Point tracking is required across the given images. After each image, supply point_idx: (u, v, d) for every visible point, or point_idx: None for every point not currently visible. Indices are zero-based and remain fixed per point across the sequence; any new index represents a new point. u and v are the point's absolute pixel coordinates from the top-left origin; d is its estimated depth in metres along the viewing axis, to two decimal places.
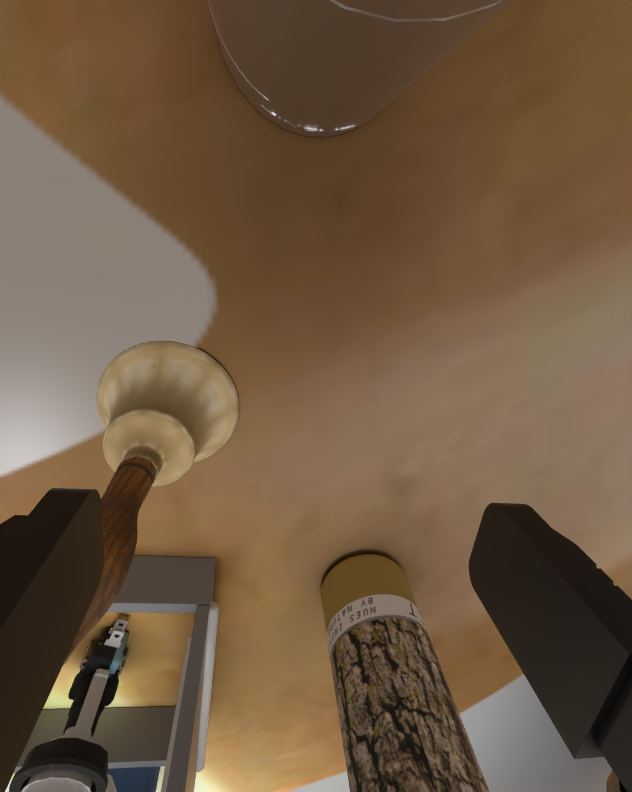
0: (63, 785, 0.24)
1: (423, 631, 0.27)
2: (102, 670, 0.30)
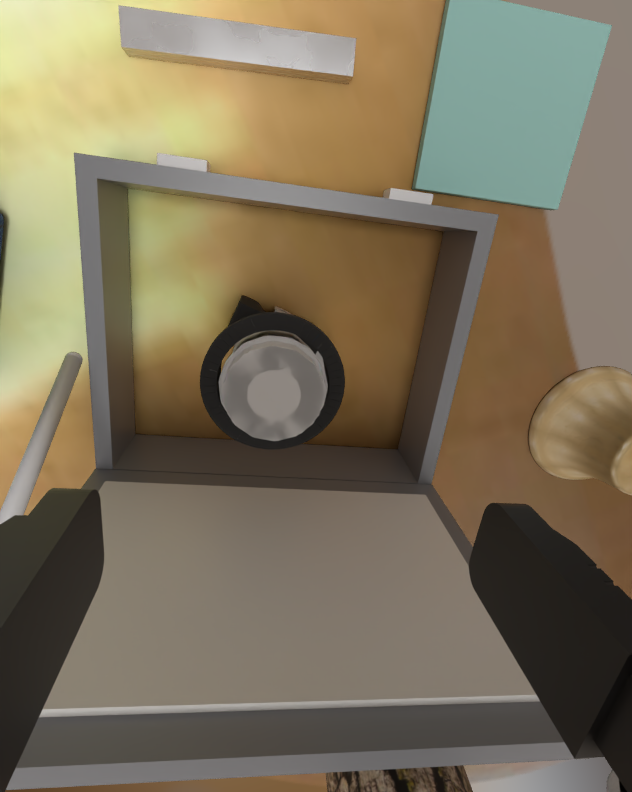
0: None
1: None
2: None
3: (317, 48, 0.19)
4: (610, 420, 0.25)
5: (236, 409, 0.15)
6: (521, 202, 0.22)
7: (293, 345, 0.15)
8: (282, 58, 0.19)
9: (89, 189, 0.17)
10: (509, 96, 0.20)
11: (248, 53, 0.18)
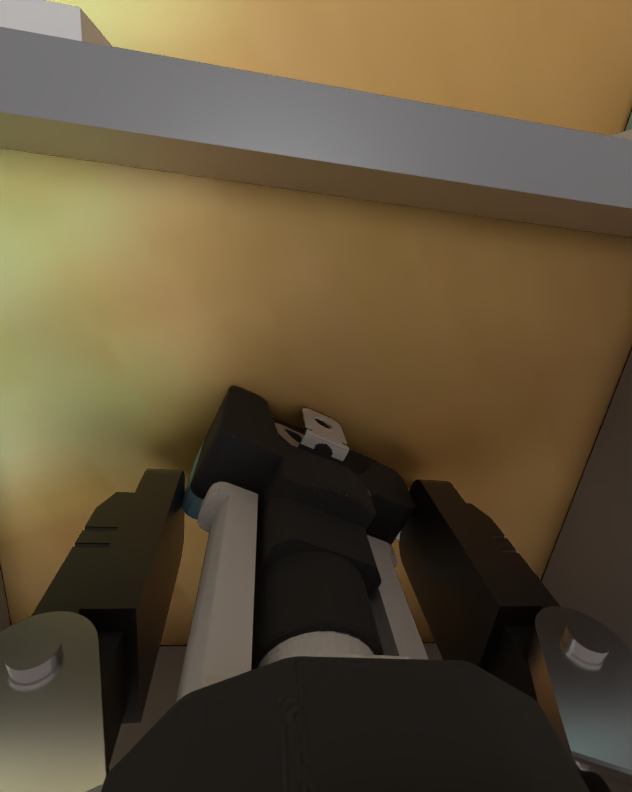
0: None
1: None
2: None
3: None
4: None
5: None
6: None
7: None
8: None
9: None
10: None
11: None
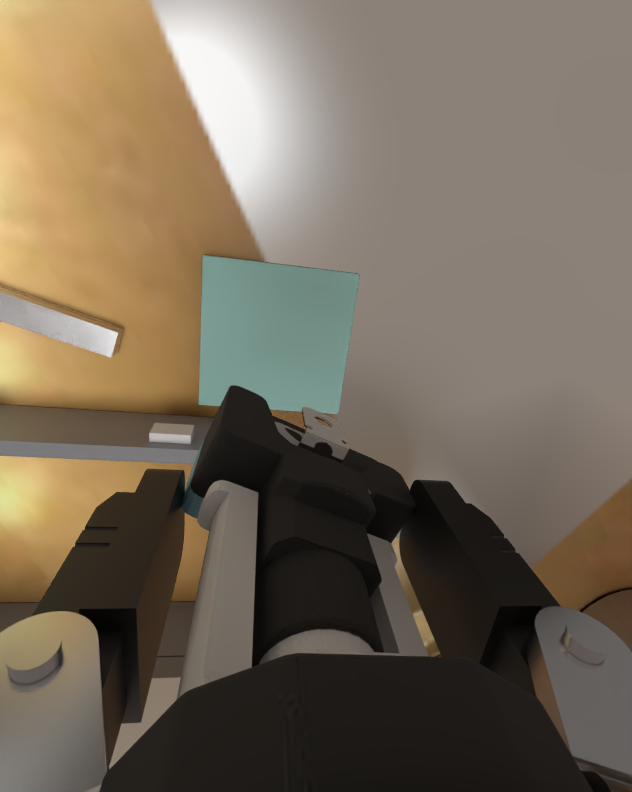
0: None
1: None
2: None
3: (80, 330, 0.21)
4: None
5: None
6: None
7: None
8: (45, 329, 0.21)
9: None
10: (274, 331, 0.23)
11: (12, 318, 0.20)
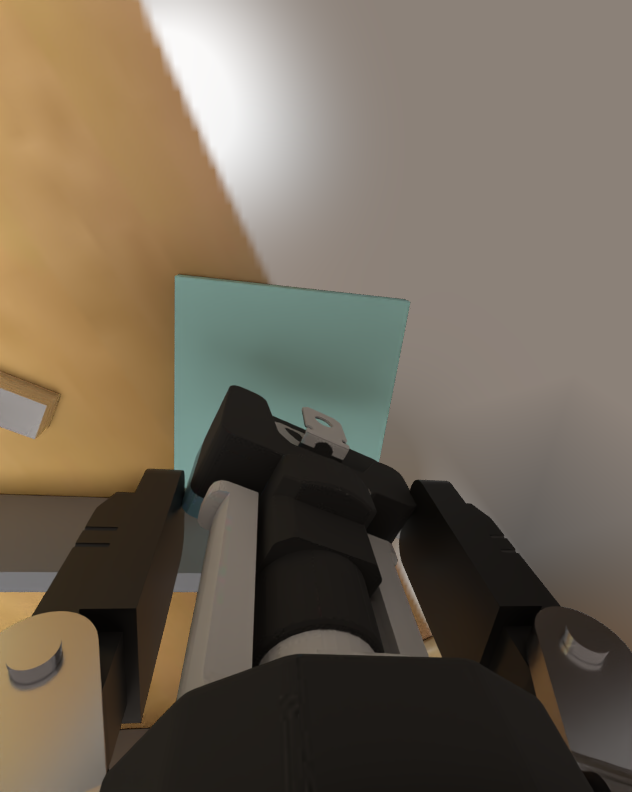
0: None
1: None
2: None
3: None
4: None
5: None
6: None
7: None
8: None
9: None
10: (283, 385, 0.15)
11: None
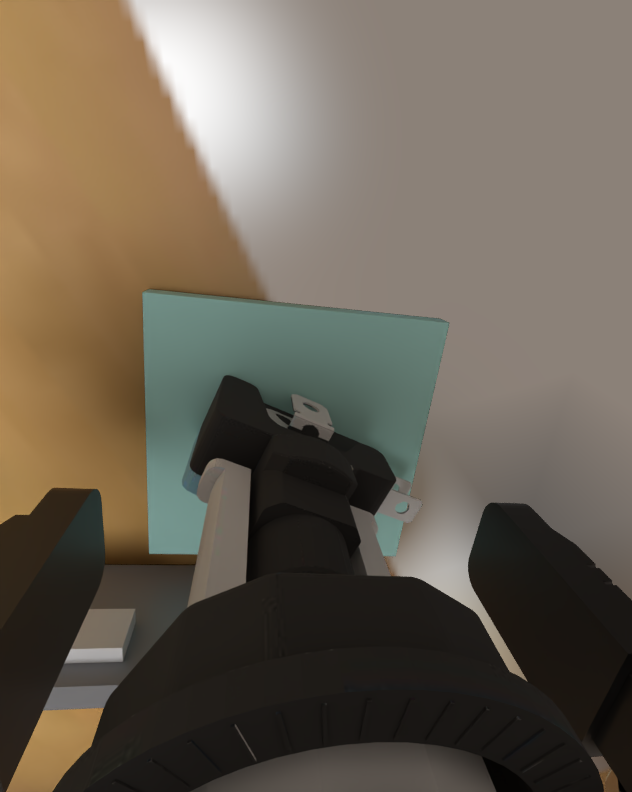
0: None
1: None
2: None
3: None
4: None
5: None
6: None
7: None
8: None
9: None
10: None
11: None
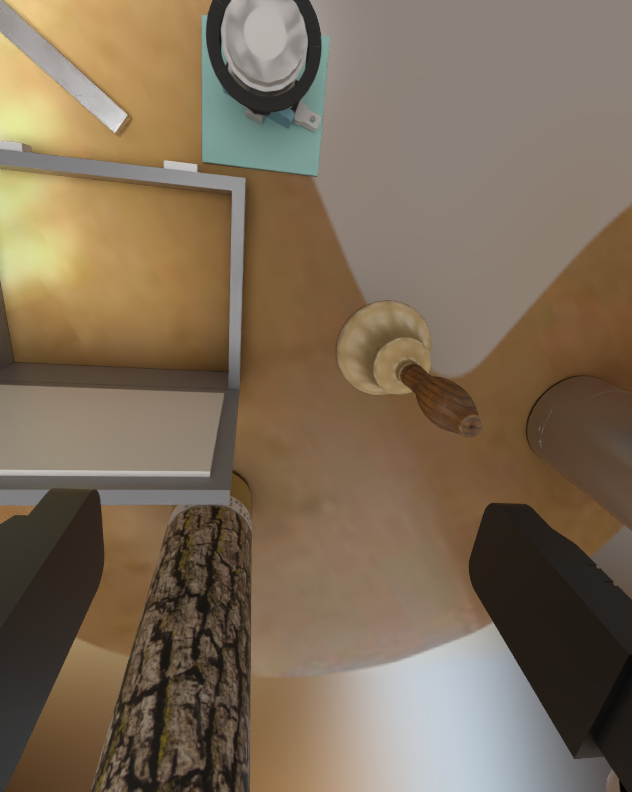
0: (300, 59, 0.20)
1: None
2: None
3: (98, 100, 0.26)
4: (377, 337, 0.32)
5: (236, 46, 0.19)
6: (288, 170, 0.30)
7: None
8: (71, 87, 0.26)
9: None
10: None
11: (48, 66, 0.25)
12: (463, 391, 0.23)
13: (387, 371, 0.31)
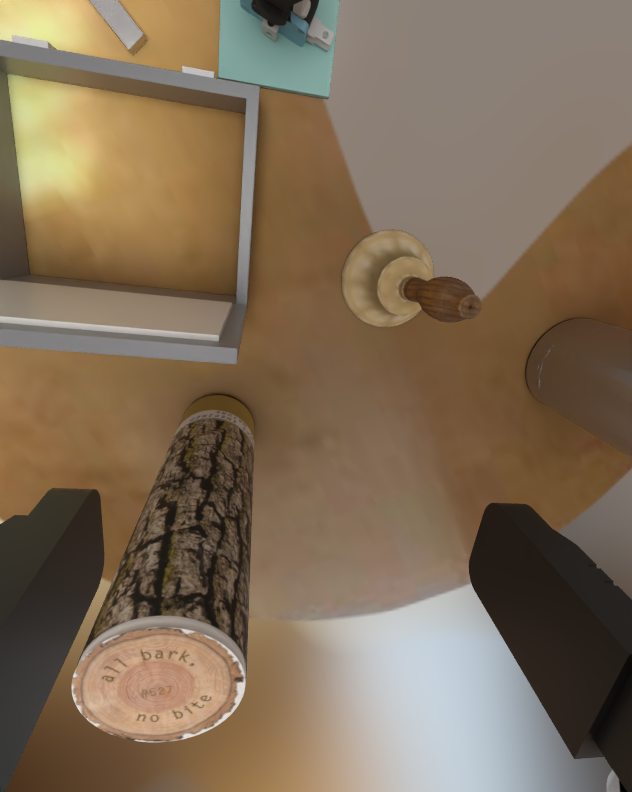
0: None
1: None
2: (309, 10, 0.27)
3: (117, 14, 0.28)
4: (381, 259, 0.33)
5: None
6: (300, 90, 0.31)
7: None
8: None
9: None
10: None
11: None
12: (463, 282, 0.24)
13: (390, 289, 0.32)
